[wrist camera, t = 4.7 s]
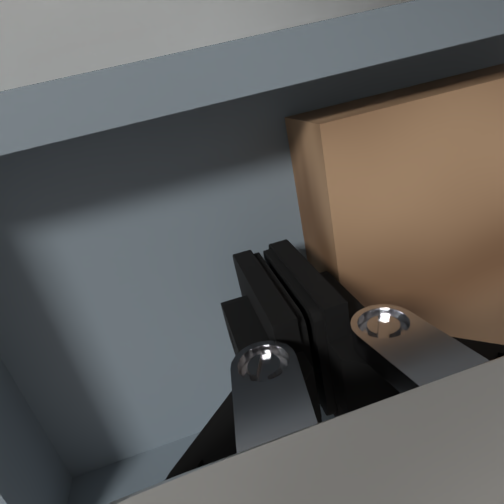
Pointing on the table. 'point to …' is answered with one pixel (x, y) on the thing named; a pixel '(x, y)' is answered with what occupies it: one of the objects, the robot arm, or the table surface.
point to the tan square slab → (410, 199)
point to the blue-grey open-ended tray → (167, 230)
